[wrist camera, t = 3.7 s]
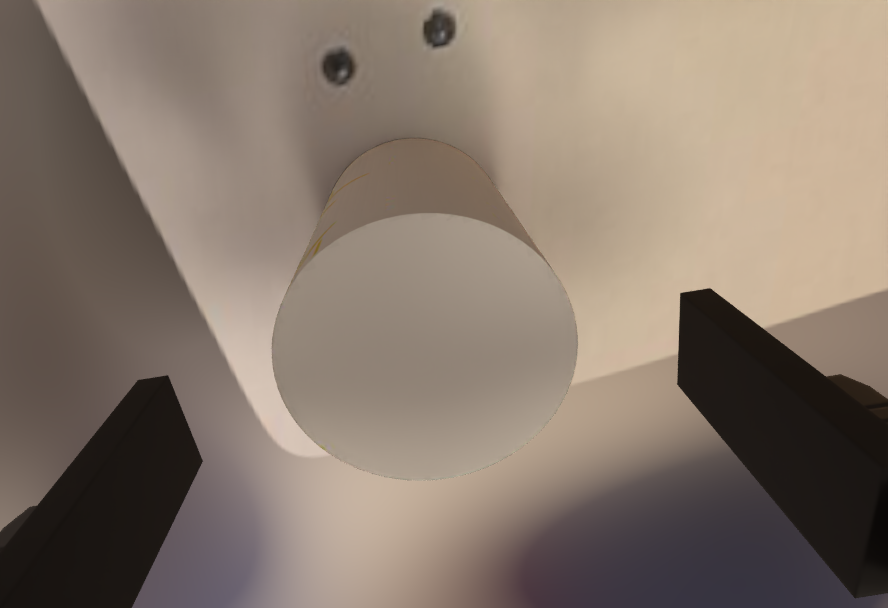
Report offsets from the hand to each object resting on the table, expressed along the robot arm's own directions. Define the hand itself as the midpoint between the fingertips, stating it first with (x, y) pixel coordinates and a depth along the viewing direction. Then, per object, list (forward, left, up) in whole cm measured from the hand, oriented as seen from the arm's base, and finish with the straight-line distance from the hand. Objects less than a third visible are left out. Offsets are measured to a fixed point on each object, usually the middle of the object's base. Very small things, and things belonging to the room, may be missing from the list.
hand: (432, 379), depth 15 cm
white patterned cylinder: (0, 0, -13) cm, 13 cm away
